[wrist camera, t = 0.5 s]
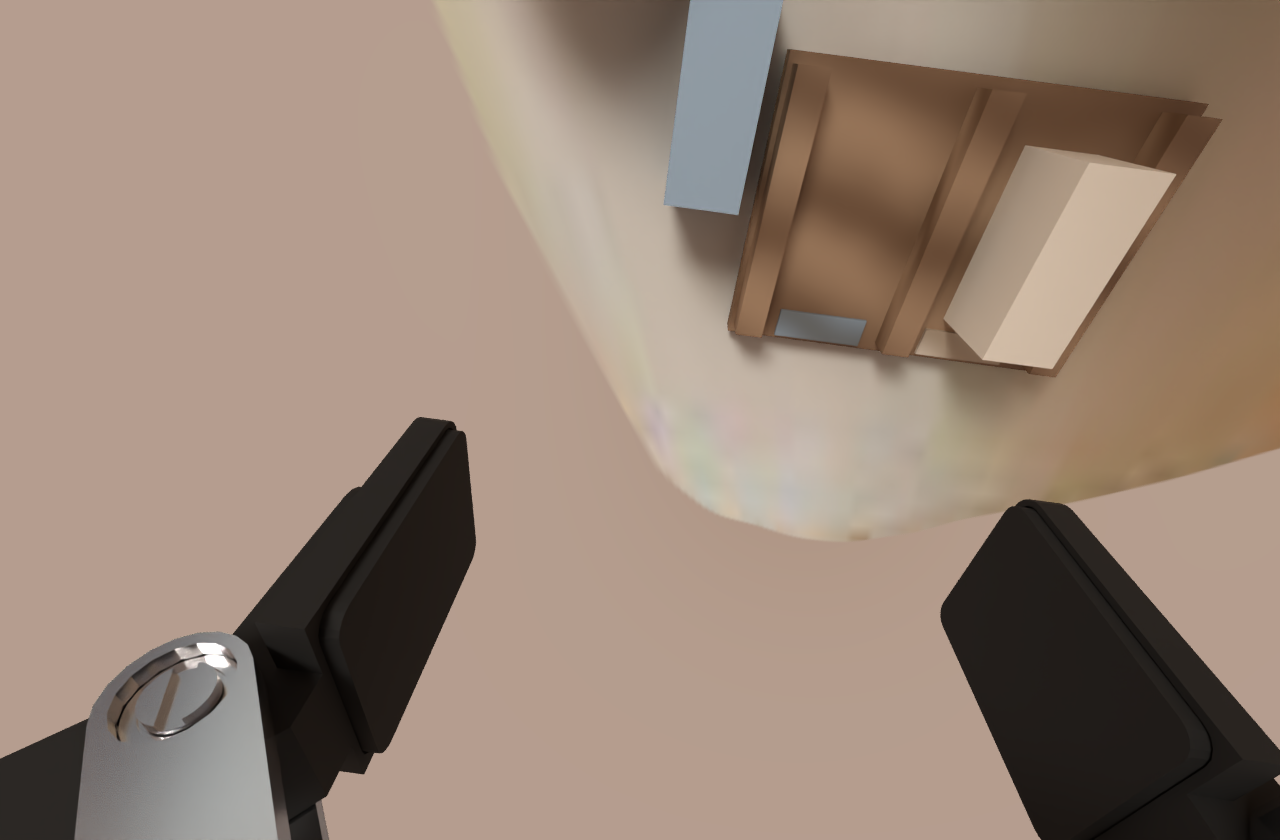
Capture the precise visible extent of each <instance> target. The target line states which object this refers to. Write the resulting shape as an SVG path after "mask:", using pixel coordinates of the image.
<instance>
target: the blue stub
mask: <svg viewBox="0 0 1280 840" xmlns="http://www.w3.org/2000/svg"><path fill="white" fill-rule="evenodd" d="M782 4H783V0H690V6H689V13H688V21H687V29H686V36H685V44H684V52H683V60H682V67H681V75H680V83H679V90H678V98H677V106H676V114H675V121H674V129H673V137H672V144H671V152H670V160H669V167H668V175H667V183H666V191H665V198H664V205H668V206H676V207H683V208H690V209H697V210H705V211H712V212H719V213H727V214H734V215H738V214H739V209H740V204H741V199H742V195H743V190H744V185H745V180H746V176H747V171H748V166H749V161H750V156H751V152H752V147H753V142H754V137H755V133H756V128H757V123H758V118H759V114H760V109H761V104H762V99H763V94H764V90H765V85H766V80H767V75H768V71H769V66H770V61H771V56H772V51H773V47H774V42H775V37H776V32H777V28H778V23H779V18H780V13H781V8H782Z"/></svg>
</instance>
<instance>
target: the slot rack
mask: <svg viewBox="0 0 1280 840" xmlns="http://www.w3.org/2000/svg"><path fill="white" fill-rule="evenodd" d="M1208 105H1209V104H1204V103H1197V102H1189V101H1181V100H1174V99H1166V98H1159V97H1151V96H1143V95H1136V94H1128V93H1120V92H1113V91H1105V90H1097V89H1090V88H1082V87H1074V86H1067V85H1059V84H1051V83H1044V82H1036V81H1028V80H1021V79H1013V78H1006V77H998V76H990V75H983V74H975V73H967V72H960V71H952V70H944V69H937V68H929V67H921V66H914V65H906V64H898V63H891V62H883V61H876V60H868V59H860V58H853V57H845V56H837V55H830V54H822V53H814V52H807V51H799V50H791V49H789V50H787V54H786V58H785V63H784V67H783V72H782V76H781V81H780V85H779V90H778V95H777V99H776V104H775V108H774V113H773V117H772V122H771V127H770V131H769V136H768V140H767V145H766V149H765V154H764V158H763V163H762V168H761V172H760V177H759V181H758V186H757V190H756V195H755V200H754V204H753V209H752V213H751V218H750V222H749V227H748V231H747V236H746V241H745V245H744V250H743V254H742V259H741V263H740V268H739V272H738V277H737V282H736V286H735V291H734V295H733V300H732V304H731V309H730V314H729V318H728V323H727V325H728V330H729V331H735V333H736V334H738V335H745V336H752V337H760V338H762V335H766V336H773V337H781V338H788V339H795V340H803V341H810V342H818V343H825V344H832V345H840V346H847V347H855V348H862V349H870V350H877V351H881V353H882V354H886V355H893V356H901V357H909V355H914V356H922V357H929V358H936V359H944V360H951V361H959V362H966V363H974V364H981V365H988V366H996V367H1003V368H1011V369H1018V370H1026V371H1027V372H1028V373H1029V374H1035V375H1042V376H1049V377H1056V376H1057V374H1058V372H1059V371H1060V369H1061V368H1062V366H1063V365H1064V363H1065V362H1066V360H1067V359H1068V357H1069V355H1070V354H1071V352H1072V351H1073V349H1074V348H1075V346H1076V345H1077V343H1078V342H1079V340H1080V339H1081V337H1082V335H1083V334H1084V332H1085V331H1086V329H1087V328H1088V326H1089V325H1090V323H1091V322H1092V320H1093V318H1094V317H1095V315H1096V314H1097V312H1098V311H1099V309H1100V308H1101V306H1102V305H1103V303H1104V301H1105V300H1106V298H1107V297H1108V295H1109V294H1110V292H1111V291H1112V289H1113V288H1114V286H1115V285H1116V283H1117V281H1118V280H1119V278H1120V277H1121V275H1122V274H1123V272H1124V271H1125V269H1126V268H1127V266H1128V264H1129V263H1130V261H1131V260H1132V258H1133V257H1134V255H1135V254H1136V252H1137V251H1138V249H1139V247H1140V246H1141V244H1142V243H1143V241H1144V240H1145V238H1146V237H1147V235H1148V234H1149V232H1150V231H1151V229H1152V227H1153V226H1154V224H1155V223H1156V221H1157V220H1158V218H1159V217H1160V215H1161V214H1162V212H1163V210H1164V209H1165V207H1166V206H1167V204H1168V203H1169V201H1170V200H1171V198H1172V197H1173V195H1174V193H1175V192H1176V190H1177V189H1178V187H1179V186H1180V184H1181V183H1182V181H1183V180H1184V178H1185V177H1186V175H1187V173H1188V172H1189V170H1190V169H1191V167H1192V166H1193V164H1194V163H1195V161H1196V160H1197V158H1198V156H1199V155H1200V153H1201V152H1202V150H1203V149H1204V147H1205V146H1206V144H1207V143H1208V141H1209V139H1210V138H1211V136H1212V135H1213V133H1214V132H1215V130H1216V129H1217V127H1218V126H1219V124H1220V123H1221V121H1222V119H1217V118H1209V117H1201V116H1202V114H1203V113H1204V111H1205V110H1206V108H1207V106H1208ZM1025 145H1026V146H1034V147H1042V148H1049V149H1057V150H1064V151H1072V152H1080V153H1087V154H1095V155H1100V156H1105V157H1109V158H1113V159H1117V160H1121V161H1125V162H1129V163H1133V164H1137V165H1141V166H1145V167H1149V168H1154V169H1158V170H1162V171H1166V172H1170V173H1174V174H1176V176H1175V178H1174V179H1173V181H1172V182H1171V184H1170V185H1169V187H1168V188H1167V190H1166V192H1165V193H1164V195H1163V196H1162V198H1161V199H1160V201H1159V203H1158V204H1157V206H1156V207H1155V209H1154V210H1153V212H1152V214H1151V215H1150V217H1149V218H1148V220H1147V221H1146V223H1145V225H1144V226H1143V228H1142V229H1141V231H1140V232H1139V234H1138V236H1137V237H1136V239H1135V240H1134V242H1133V243H1132V245H1131V246H1130V248H1129V250H1128V251H1127V253H1126V254H1125V256H1124V257H1123V259H1122V261H1121V262H1120V264H1119V265H1118V267H1117V268H1116V270H1115V272H1114V273H1113V275H1112V276H1111V278H1110V279H1109V281H1108V283H1107V284H1106V286H1105V287H1104V289H1103V290H1102V292H1101V294H1100V295H1099V297H1098V298H1097V300H1096V301H1095V303H1094V305H1093V306H1092V308H1091V309H1090V311H1089V312H1088V314H1087V315H1086V317H1085V319H1084V320H1083V322H1082V323H1081V325H1080V326H1079V328H1078V330H1077V331H1076V333H1075V334H1074V336H1073V337H1072V339H1071V341H1070V342H1069V344H1068V345H1067V347H1066V348H1065V350H1064V352H1063V353H1062V355H1061V356H1060V358H1059V359H1058V361H1057V363H1056V364H1055V366H1054V367H1053V369H1047V368H1040V367H1033V366H1025V365H1018V364H1010V363H1003V362H995V361H988V360H982V359H981V358H980V357H979V356H978V355H977V354H976V353H975V351H974V350H973V349H972V348H971V347H970V346H969V345H968V344H967V343H966V342H965V341H964V340H963V339H962V338H961V337H960V336H959V335H958V334H957V333H956V332H955V330H954V329H953V328H952V327H951V326H950V325H949V324H948V323H947V322H946V321H945V320H944V316H945V314H946V312H947V310H948V308H949V306H950V304H951V302H952V299H953V297H954V295H955V293H956V291H957V289H958V287H959V285H960V283H961V280H962V278H963V276H964V274H965V272H966V270H967V268H968V266H969V263H970V261H971V259H972V257H973V255H974V253H975V251H976V249H977V247H978V244H979V242H980V240H981V238H982V236H983V234H984V232H985V230H986V227H987V225H988V223H989V221H990V219H991V217H992V215H993V213H994V210H995V208H996V206H997V204H998V202H999V200H1000V198H1001V196H1002V194H1003V191H1004V189H1005V187H1006V185H1007V183H1008V181H1009V179H1010V177H1011V174H1012V172H1013V170H1014V168H1015V166H1016V164H1017V162H1018V160H1019V158H1020V155H1021V153H1022V151H1023V149H1024V147H1025Z"/></svg>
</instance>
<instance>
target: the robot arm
mask: <svg viewBox="0 0 1280 840" xmlns="http://www.w3.org/2000/svg"><path fill="white" fill-rule="evenodd" d="M475 546H476V536H475V525H474V515H473V504H472V495H471V484H470V474H469V462H468V452H467V442H466V435H465V433H464V432H463V431H457V430H456V426H455V424H454V422H452V421H446V420H438V419H431V418H424V417H419V418H417V419H415V420H414V421H413V423H412V424H411V425H410V426H409V428H408V429H407V430H406V431H405V433H404V434H403V435H402V436H401V438H400V439H399V440H398V442H397V443H396V444H395V445H394V447H393V448H392V449H391V450H390V452H389V453H388V454H387V455H386V457H385V458H384V459H383V460H382V462H381V463H380V464H379V466H378V467H377V468H376V469H375V471H374V472H373V473H372V475H371V476H370V477H369V478H368V479H367V481H366V482H365V483H364V485H363V486H362V487H357V488H354V489H352V490H351V491H350V492H349V493H348V494H347V495H346V496H345V497H344V498H343V499H342V500H341V502H340V503H339V504H338V505H337V507H336V508H335V509H334V510H333V511H332V513H331V514H330V515H329V516H328V518H327V519H326V520H325V521H324V523H323V524H322V525H321V526H320V528H319V529H318V530H317V531H316V532H315V534H314V535H313V536H312V537H311V539H310V540H309V541H308V542H307V543H306V545H305V546H304V547H303V548H302V550H301V551H300V552H299V553H298V555H297V556H296V557H295V558H294V560H293V561H292V562H291V563H290V564H289V566H288V567H287V568H286V569H285V571H284V572H283V573H282V574H281V575H280V577H279V578H278V579H277V580H276V582H275V583H274V584H273V585H272V587H271V588H270V589H269V590H268V592H267V593H266V594H265V595H264V597H263V598H262V599H261V600H260V601H259V603H258V604H257V605H256V606H255V607H254V609H253V610H252V611H251V612H250V614H249V615H248V616H247V617H246V619H245V620H244V621H243V622H242V624H241V625H240V626H239V627H238V628H237V630H236V631H235V632H234V633H233V635H231V634H227V633H223V632H203V633H196V634H192V635H189V636H184V637H181V638H177V639H174V640H172V641H170V642H168V643H165V644H163V645H161V646H159V647H157V648H155V649H152V650H150V651H149V652H147V653H146V654H144V655H143V656H142V657H140V658H139V659H137V660H136V661H134V662H133V663H131V664H130V665H128V666H127V667H126V668H125V669H124V670H123V671H122V672H120V673H119V674H118V675H117V676H116V677H115V678H114V679H113V680H112V681H111V682H110V683H109V684H108V685H107V686H106V688H105V689H104V690H103V692H102V693H101V695H100V696H99V698H98V699H97V701H96V702H95V704H94V705H93V707H92V710H91V713H90V716H89V718H88V719H86V720H84V721H82V722H80V723H78V724H75V725H73V726H71V727H69V728H67V729H64V730H62V731H60V732H58V733H56V734H53V735H51V736H49V737H47V738H45V739H43V740H40V741H38V742H36V743H34V744H31V745H29V746H27V747H25V748H23V749H21V750H19V751H16V752H14V753H12V754H10V755H7V756H5V757H3V758H1V759H0V840H329V837H328V831H327V826H326V821H325V816H324V811H323V806H322V800H321V799H323V798H324V797H326V796H327V795H328V792H329V790H330V789H331V787H332V785H333V783H334V781H335V779H336V777H337V775H338V773H339V771H343V772H350V773H358V774H364V773H365V771H366V769H367V767H368V765H369V763H370V760H371V758H372V756H373V754H374V753H383V752H384V751H385V750H386V749H387V747H388V746H389V744H390V742H391V740H392V738H393V736H394V733H395V732H396V729H397V727H398V725H399V722H400V720H401V718H402V716H403V714H404V711H405V709H406V707H407V705H408V702H409V700H410V698H411V696H412V693H413V691H414V689H415V687H416V684H417V682H418V680H419V678H420V676H421V673H422V671H423V669H424V667H425V664H426V662H427V660H428V658H429V655H430V653H431V651H432V649H433V646H434V644H435V642H436V640H437V638H438V635H439V633H440V631H441V629H442V626H443V624H444V622H445V620H446V617H447V615H448V613H449V611H450V608H451V606H452V604H453V602H454V599H455V597H456V595H457V593H458V591H459V588H460V586H461V584H462V581H463V579H464V577H465V575H466V573H467V570H468V568H469V566H470V563H471V561H472V559H473V556H474V552H475ZM941 622H942V625H943V628H944V630H945V632H946V634H947V636H948V639H949V641H950V643H951V645H952V648H953V650H954V652H955V654H956V656H957V659H958V661H959V663H960V665H961V668H962V670H963V672H964V674H965V676H966V678H967V681H968V683H969V685H970V687H971V689H972V692H973V694H974V696H975V698H976V701H977V703H978V705H979V707H980V709H981V712H982V714H983V716H984V718H985V721H986V723H987V725H988V727H989V729H990V732H991V734H992V736H993V738H994V740H995V743H996V745H997V747H998V749H999V752H1000V754H1001V756H1002V758H1003V760H1004V763H1005V765H1006V767H1007V769H1008V772H1009V774H1010V776H1011V778H1012V780H1013V783H1014V785H1015V787H1016V789H1017V791H1018V793H1019V796H1020V798H1021V800H1022V803H1023V805H1024V807H1025V809H1026V811H1027V814H1028V816H1029V818H1030V820H1031V822H1032V825H1033V827H1034V829H1035V831H1036V832H1037V834H1038V836H1039V837H1040V839H1041V840H1280V785H1279V784H1278V783H1277V782H1276V781H1275V779H1274V778H1275V777H1277V776H1278V775H1280V750H1279V749H1278V747H1277V746H1276V745H1275V744H1274V743H1273V742H1272V741H1271V739H1270V738H1269V737H1268V736H1267V735H1266V734H1265V733H1264V731H1263V730H1262V729H1261V728H1260V727H1259V726H1258V724H1257V723H1256V722H1255V721H1254V720H1253V719H1252V718H1251V716H1250V715H1249V714H1248V713H1247V712H1246V711H1245V709H1244V708H1243V707H1242V706H1241V705H1240V704H1239V702H1238V701H1237V700H1236V699H1235V698H1234V697H1233V695H1232V694H1231V693H1230V692H1229V691H1228V690H1227V689H1226V687H1225V686H1224V685H1223V684H1222V683H1221V682H1220V680H1219V679H1218V678H1217V677H1216V676H1215V675H1214V674H1213V672H1212V671H1211V670H1210V669H1209V668H1208V667H1207V665H1206V664H1205V663H1204V662H1203V661H1202V660H1201V658H1199V656H1198V655H1197V654H1196V653H1195V652H1194V651H1193V649H1192V648H1191V647H1190V646H1189V645H1188V643H1187V642H1186V641H1185V640H1184V639H1183V638H1182V637H1181V635H1180V634H1179V633H1178V632H1177V631H1176V630H1175V628H1174V627H1173V626H1172V625H1171V624H1170V623H1169V622H1168V620H1167V619H1166V618H1165V617H1164V616H1163V615H1162V613H1161V612H1160V611H1159V610H1158V609H1157V608H1156V606H1155V605H1154V604H1153V603H1152V602H1151V601H1150V599H1149V598H1148V597H1147V596H1146V595H1145V594H1144V593H1143V591H1142V590H1141V589H1140V588H1139V587H1138V586H1137V584H1136V583H1135V582H1134V581H1133V580H1132V579H1131V578H1130V576H1129V575H1128V574H1127V573H1126V572H1125V571H1124V569H1123V568H1122V567H1121V566H1120V565H1119V564H1118V563H1117V561H1116V560H1115V559H1114V558H1113V557H1112V556H1111V555H1110V553H1109V552H1108V551H1107V550H1106V549H1105V548H1104V546H1103V545H1102V544H1101V543H1100V542H1099V541H1098V539H1097V538H1096V537H1095V536H1094V535H1093V534H1092V533H1091V531H1090V530H1089V529H1088V528H1087V527H1086V526H1085V524H1084V523H1083V522H1082V521H1081V520H1080V519H1079V518H1078V516H1077V515H1076V514H1075V513H1074V512H1073V510H1071V509H1070V508H1069V507H1068V506H1066V505H1063V504H1059V503H1052V502H1044V501H1037V500H1030V499H1029V500H1022V501H1020V502H1018V504H1017V505H1016V506H1012V507H1010V508H1008V509H1007V510H1006V511H1005V513H1004V514H1003V516H1002V517H1001V519H1000V520H999V522H998V523H997V524H996V526H995V528H994V529H993V530H992V532H991V533H990V535H989V536H988V538H987V539H986V541H985V542H984V544H983V545H982V547H981V548H980V549H979V551H978V552H977V554H976V556H975V557H974V558H973V560H972V561H971V563H970V564H969V566H968V567H967V569H966V570H965V572H964V573H963V575H962V576H961V578H960V579H959V580H958V582H957V583H956V585H955V586H954V588H953V589H952V591H951V592H950V594H949V596H948V597H947V598H946V600H945V601H944V603H943V605H942V608H941Z"/></svg>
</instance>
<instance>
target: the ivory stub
mask: <svg viewBox="0 0 1280 840" xmlns="http://www.w3.org/2000/svg"><path fill="white" fill-rule="evenodd" d="M1175 176H1176V174H1174V173H1170V172H1166V171H1162V170H1158V169H1154V168H1149V167H1145V166H1141V165H1137V164H1133V163H1129V162H1125V161H1121V160H1117V159H1113V158H1109V157H1105V156H1100V155H1095V154H1087V153H1080V152H1072V151H1064V150H1057V149H1049V148H1042V147H1034V146H1026V145H1025V147H1024V149H1023V151H1022V153H1021V155H1020V158H1019V160H1018V162H1017V164H1016V166H1015V168H1014V170H1013V172H1012V174H1011V177H1010V179H1009V181H1008V183H1007V185H1006V187H1005V189H1004V191H1003V194H1002V196H1001V198H1000V200H999V202H998V204H997V206H996V208H995V210H994V213H993V215H992V217H991V219H990V221H989V223H988V225H987V227H986V230H985V232H984V234H983V236H982V238H981V240H980V242H979V244H978V247H977V249H976V251H975V253H974V255H973V257H972V259H971V261H970V263H969V266H968V268H967V270H966V272H965V274H964V276H963V278H962V280H961V283H960V285H959V287H958V289H957V291H956V293H955V295H954V297H953V299H952V302H951V304H950V306H949V308H948V310H947V312H946V314H945V316H944V320H945V321H946V322H947V323H948V324H949V325H950V326H951V327H952V328H953V329H954V330H955V332H956V333H957V334H958V335H959V336H960V337H961V338H962V339H963V340H964V341H965V342H966V343H967V344H968V345H969V346H970V347H971V348H972V349H973V350H974V351H975V353H976V354H977V355H978V356H979V357H980V358H981V359H982V360H988V361H995V362H1003V363H1010V364H1018V365H1025V366H1033V367H1040V368H1047V369H1053V367H1054V366H1055V364H1056V363H1057V361H1058V359H1059V358H1060V356H1061V355H1062V353H1063V352H1064V350H1065V348H1066V347H1067V345H1068V344H1069V342H1070V341H1071V339H1072V337H1073V336H1074V334H1075V333H1076V331H1077V330H1078V328H1079V326H1080V325H1081V323H1082V322H1083V320H1084V319H1085V317H1086V315H1087V314H1088V312H1089V311H1090V309H1091V308H1092V306H1093V305H1094V303H1095V301H1096V300H1097V298H1098V297H1099V295H1100V294H1101V292H1102V290H1103V289H1104V287H1105V286H1106V284H1107V283H1108V281H1109V279H1110V278H1111V276H1112V275H1113V273H1114V272H1115V270H1116V268H1117V267H1118V265H1119V264H1120V262H1121V261H1122V259H1123V257H1124V256H1125V254H1126V253H1127V251H1128V250H1129V248H1130V246H1131V245H1132V243H1133V242H1134V240H1135V239H1136V237H1137V236H1138V234H1139V232H1140V231H1141V229H1142V228H1143V226H1144V225H1145V223H1146V221H1147V220H1148V218H1149V217H1150V215H1151V214H1152V212H1153V210H1154V209H1155V207H1156V206H1157V204H1158V203H1159V201H1160V199H1161V198H1162V196H1163V195H1164V193H1165V192H1166V190H1167V188H1168V187H1169V185H1170V184H1171V182H1172V181H1173V179H1174V178H1175Z"/></svg>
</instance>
